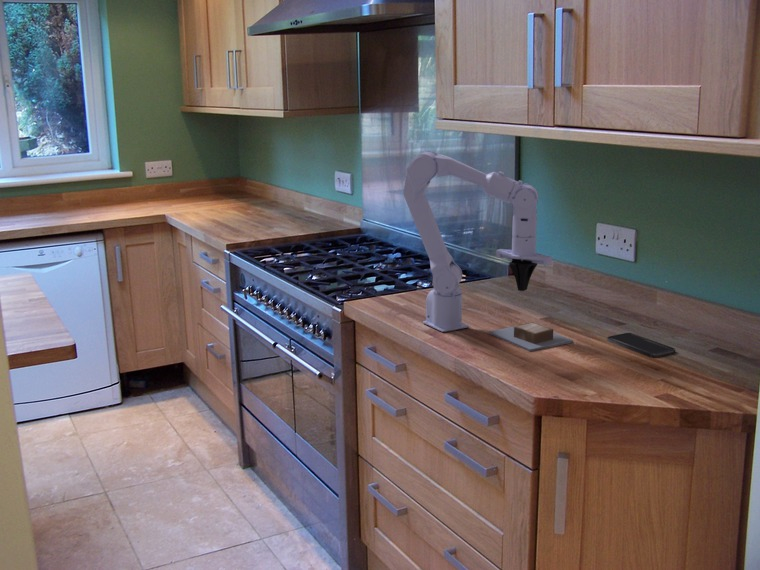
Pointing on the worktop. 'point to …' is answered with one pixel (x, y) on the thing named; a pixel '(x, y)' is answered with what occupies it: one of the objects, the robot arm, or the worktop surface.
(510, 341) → the rubber mat
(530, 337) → the brown wooden block
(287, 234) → the worktop surface
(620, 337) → the phone
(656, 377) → the worktop surface
